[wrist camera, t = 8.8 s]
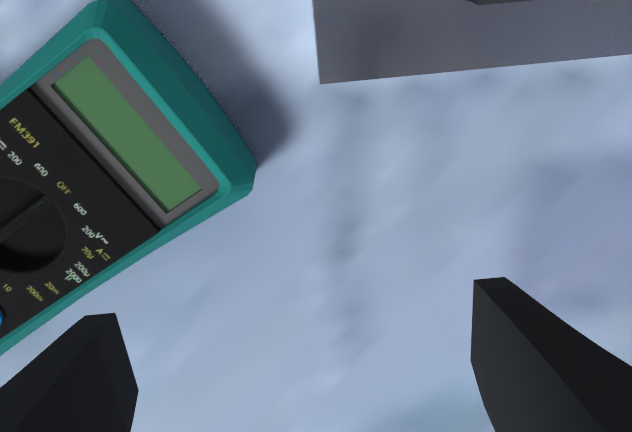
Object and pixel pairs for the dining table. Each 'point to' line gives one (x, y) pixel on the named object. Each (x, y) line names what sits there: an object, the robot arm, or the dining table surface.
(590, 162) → the dining table surface
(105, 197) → the digital multimeter
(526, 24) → the junction plate
